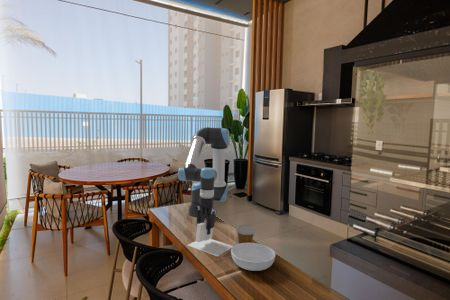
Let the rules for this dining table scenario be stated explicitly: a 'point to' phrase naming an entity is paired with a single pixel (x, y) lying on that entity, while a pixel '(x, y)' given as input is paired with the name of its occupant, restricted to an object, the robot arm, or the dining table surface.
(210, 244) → the mat
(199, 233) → the tile
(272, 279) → the dining table surface
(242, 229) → the disposable coffee cup
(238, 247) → the serving bowl
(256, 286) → the dining table surface
